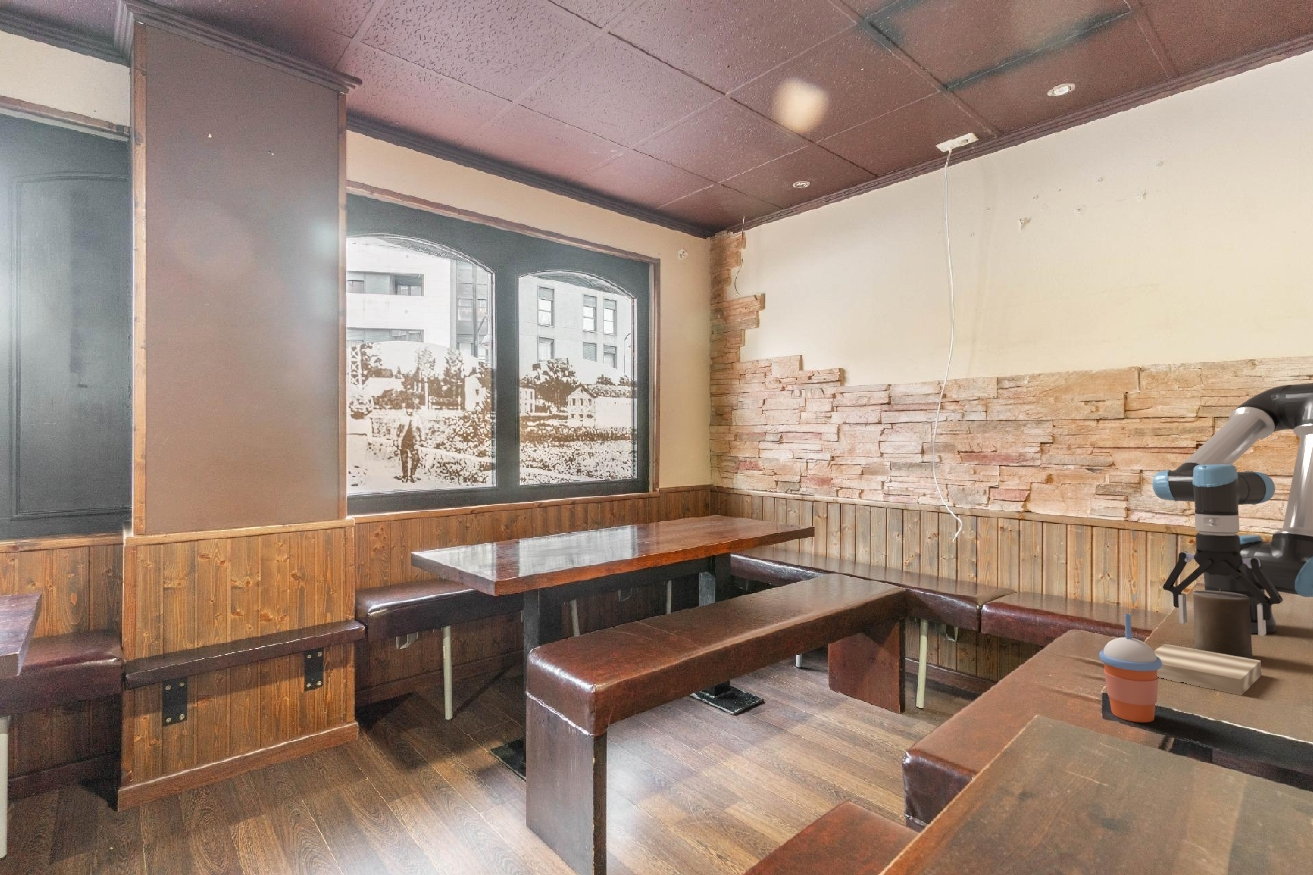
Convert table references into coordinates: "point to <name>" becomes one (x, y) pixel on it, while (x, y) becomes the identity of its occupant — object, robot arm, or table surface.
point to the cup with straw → (1131, 676)
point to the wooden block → (1207, 669)
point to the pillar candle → (1222, 623)
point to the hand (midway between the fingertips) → (1221, 628)
